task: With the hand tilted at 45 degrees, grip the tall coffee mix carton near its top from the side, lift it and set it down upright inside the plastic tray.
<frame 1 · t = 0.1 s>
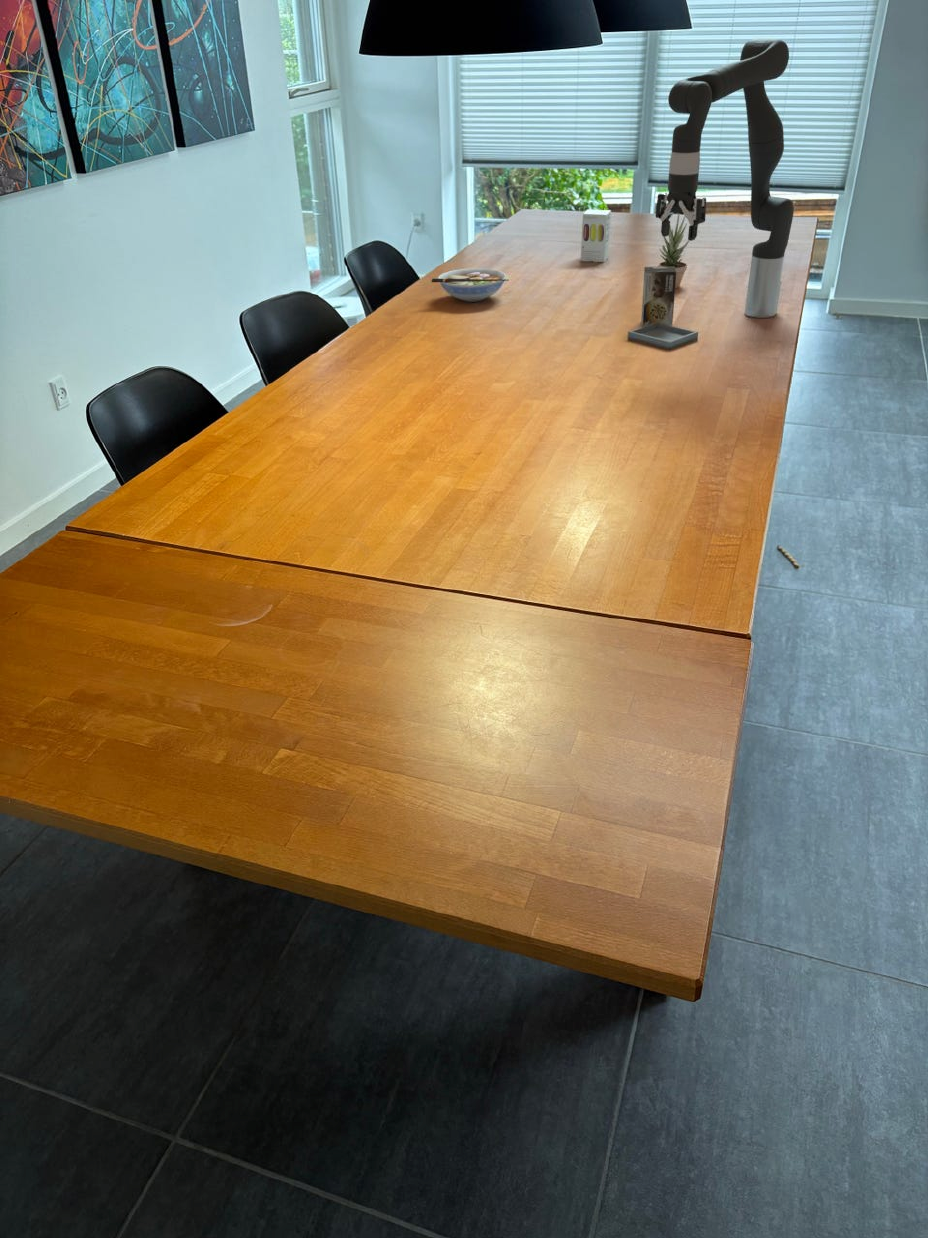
hand: (678, 237, 248), 29 cm above the table, tool pointing down, fingers open, 8 cm apart
potted plant: (670, 286, 320), on the table
tray: (662, 339, 271), on the table
ramen bowl: (472, 299, 314), on the table
supplement box: (594, 259, 356), on the table
coffee box: (656, 324, 284), on the table
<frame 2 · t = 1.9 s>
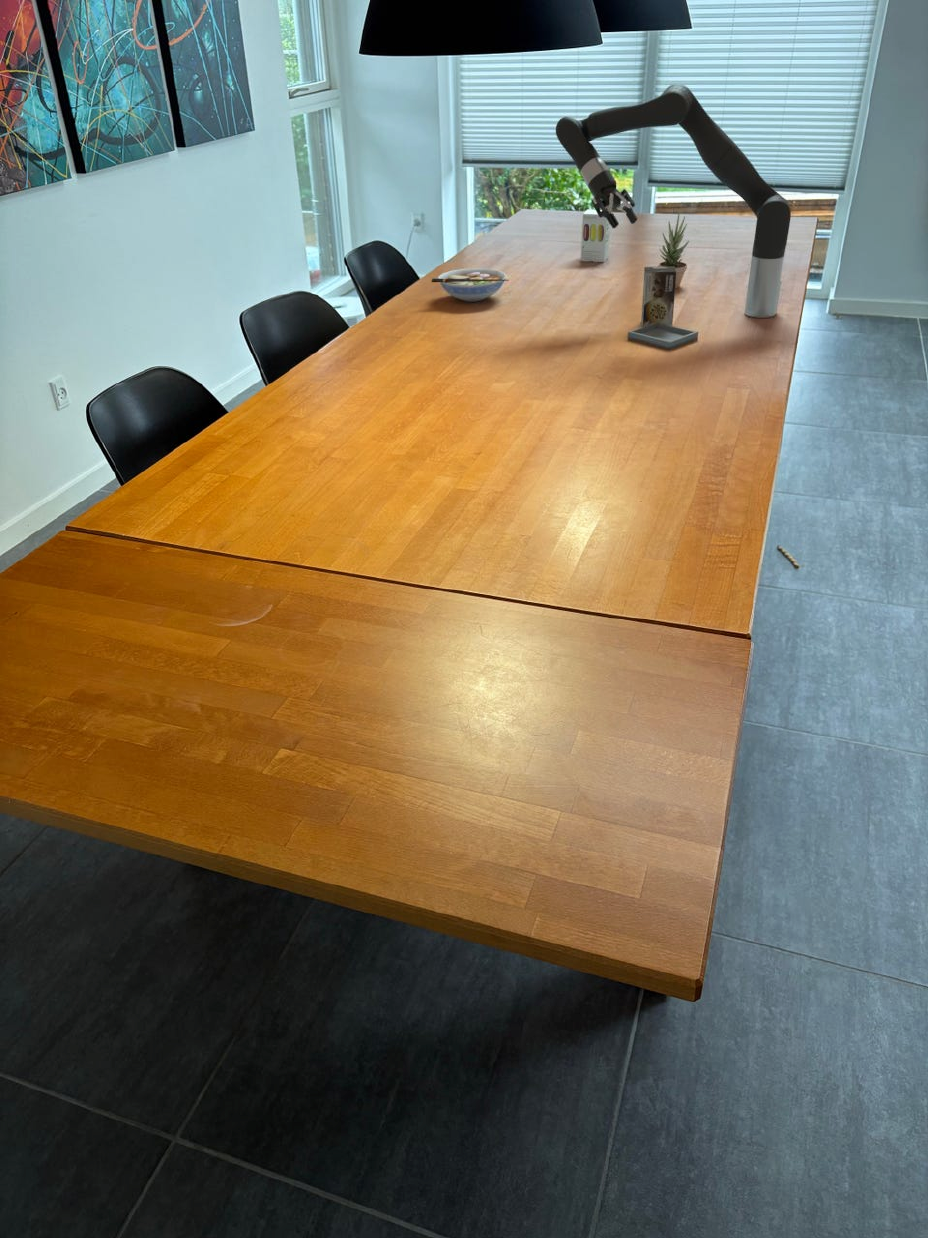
hand: (625, 224, 278), 27 cm above the table, tool tilted 45°, fingers open, 8 cm apart
nothing on the table moved.
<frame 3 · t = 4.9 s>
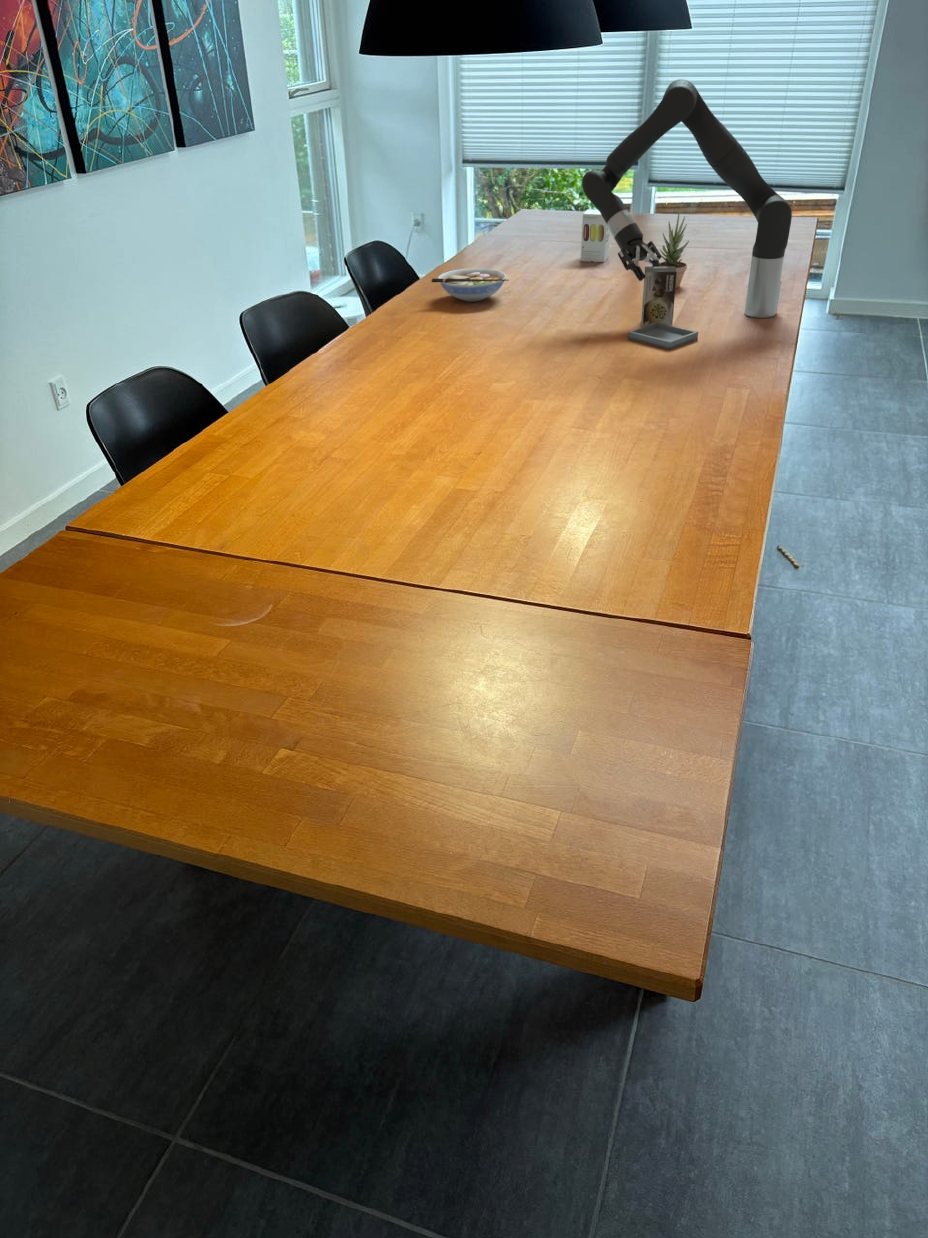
hand: (652, 276, 278), 13 cm above the table, tool tilted 45°, fingers open, 8 cm apart
coffee box: (656, 324, 284), on the table, touching gripper
everything else where it was.
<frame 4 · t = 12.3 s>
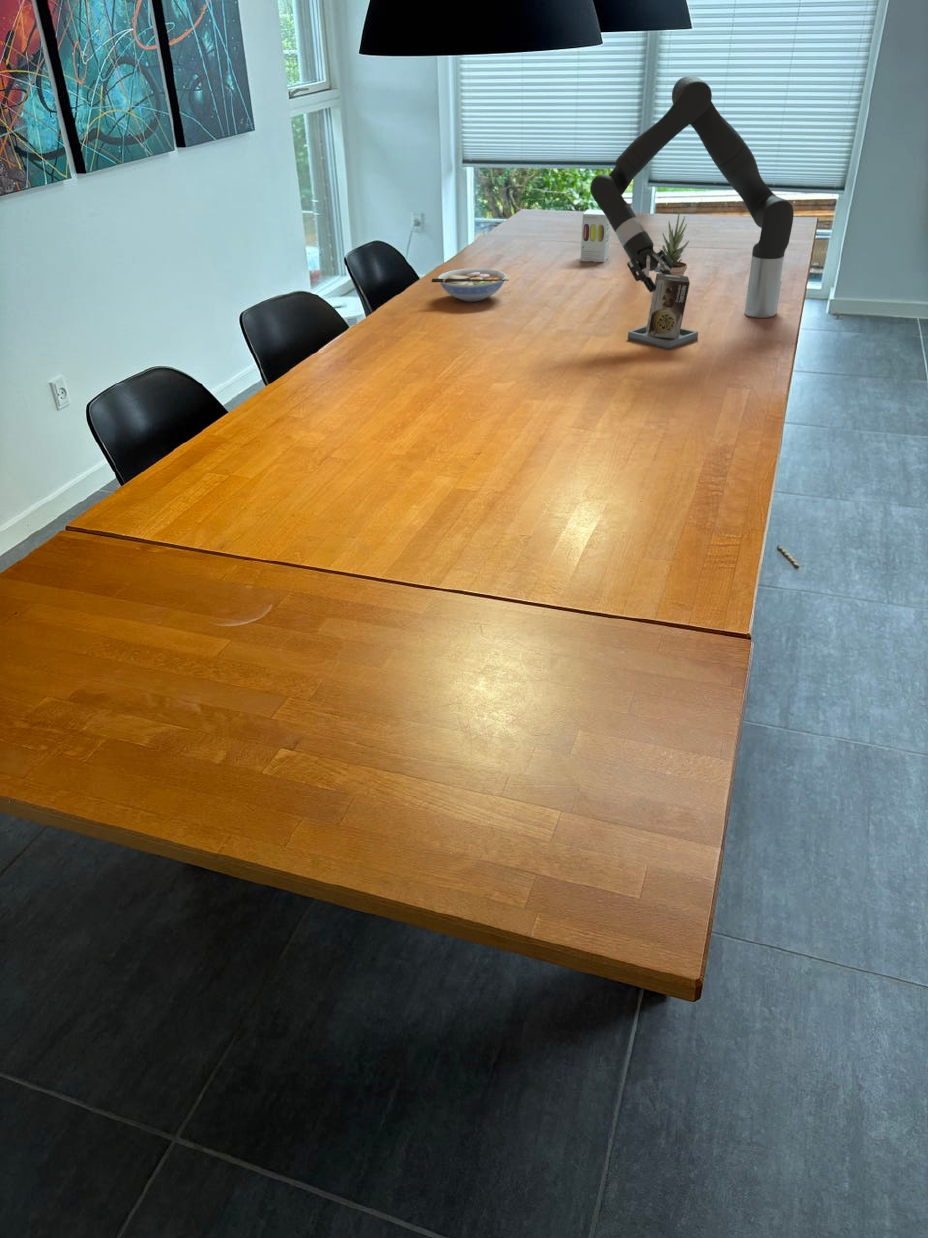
hand: (663, 287, 264), 14 cm above the table, tool tilted 45°, fingers open, 8 cm apart
coffee box: (661, 335, 271), point 1 cm above the table, touching gripper, tray
everything else where it was.
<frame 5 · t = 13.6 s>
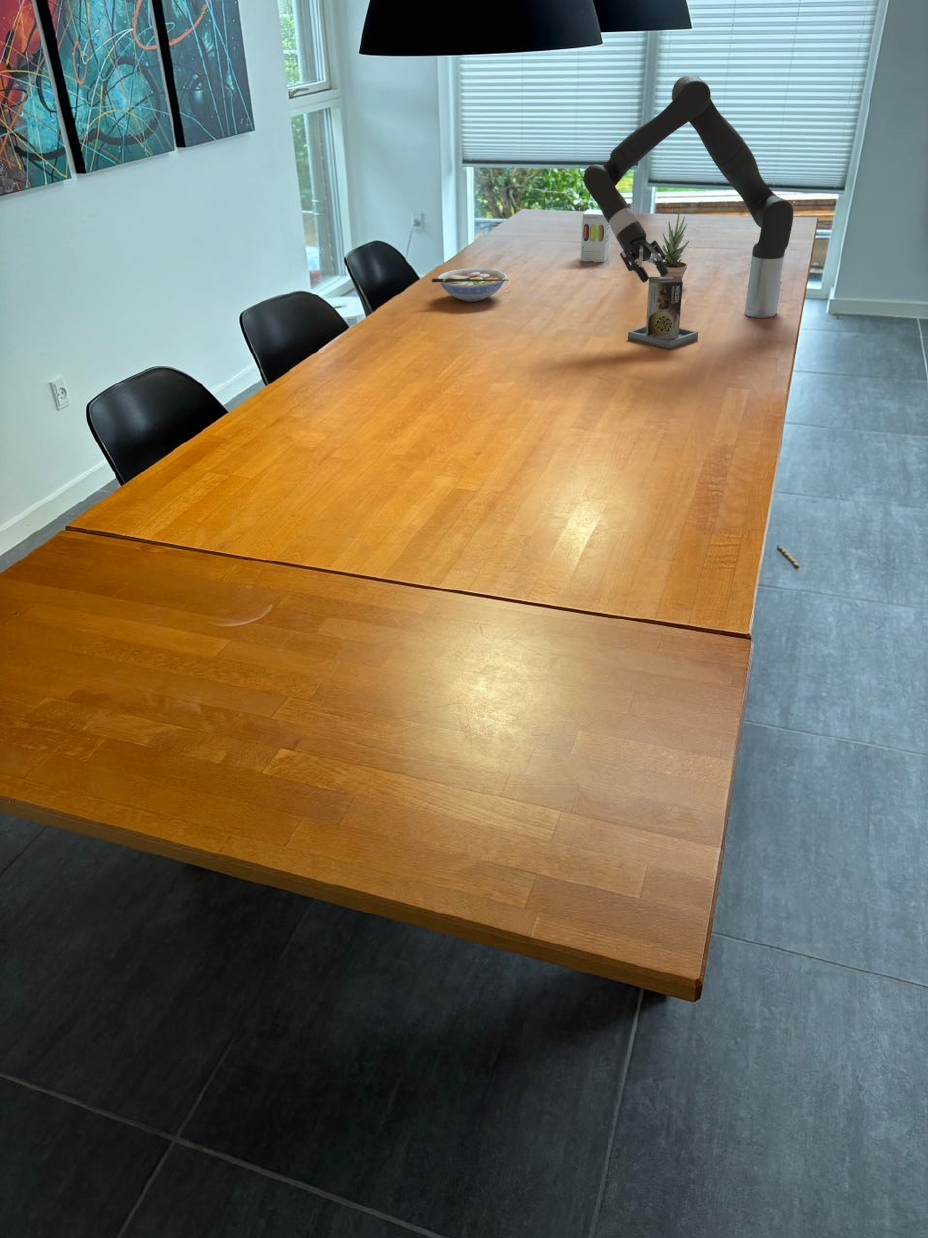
hand: (656, 277, 264), 17 cm above the table, tool tilted 45°, fingers open, 8 cm apart
coffee box: (661, 337, 271), point 1 cm above the table, touching tray
everything else where it was.
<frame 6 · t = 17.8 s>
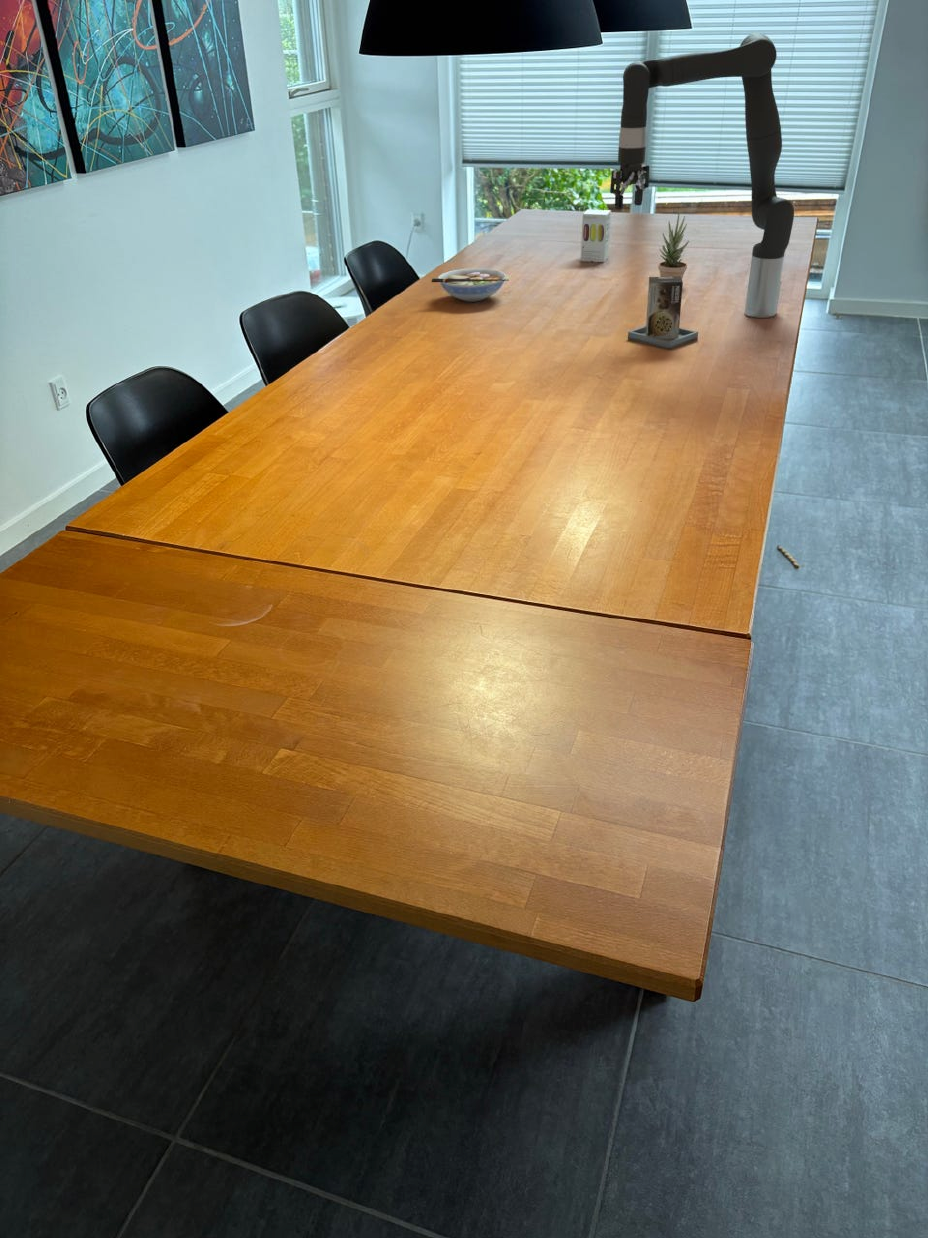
hand: (628, 206, 272), 32 cm above the table, tool pointing down, fingers open, 8 cm apart
nothing on the table moved.
at the end: coffee box inside the target area on the tray (0.4 cm from its centre), point 0.6 cm above the tray's base; coffee box tilted 0°; the gripper is holding nothing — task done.
